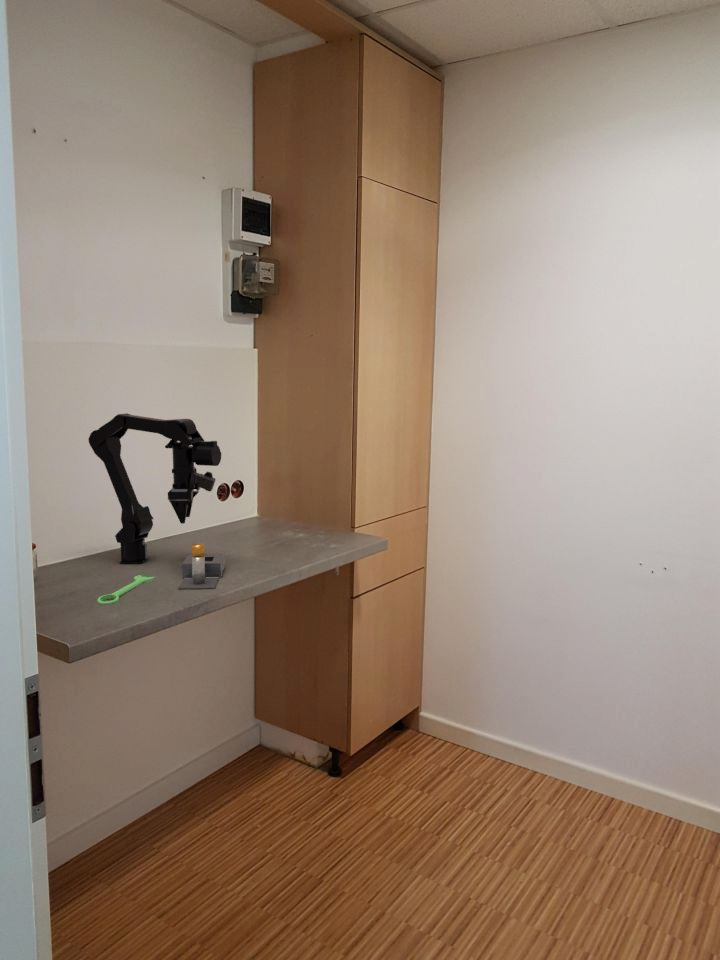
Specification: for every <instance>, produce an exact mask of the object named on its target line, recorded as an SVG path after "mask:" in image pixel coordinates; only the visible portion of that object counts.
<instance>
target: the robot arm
mask: <svg viewBox="0 0 720 960" xmlns="http://www.w3.org/2000/svg"><path fill="white" fill-rule="evenodd" d="M128 430H133V431H140V432H145V433H146V432H147V433H153V434H154V433H155V434H158V435H161V436H162V437H164V438H165V439H166V438H167V439H170V440H169V442H168V443H166V445H165V446H164V448H166V449H172V469H171V474H173V475H172V476H173V477H172V478H173V483H172V484H171V485H172V488H171V489H170V490H169V491H168V492H167V500H168V501H169V503H170V504H171V506H172V509H173V511H174V513H175V514H176V516H177V518H178V520H179V523H180V524H181V525H182V524H185V523H186V519H187V518H190V517H191V512H192V507H193V502H194V498H195V497H196V496H197V494H199V492H200V489H203V490H205V491H206V492H212V491H213V489H214V486H215V483H216V478H215V477H214V476H213V472H210V471H206V472H205V473H204V474H203V473H199V472H197V471H198V470H197V468H196V467H195V465H196V466H207V467H208V466H209V467H210V466H211V467H218V466H219V465H220V463H221V461H222V452H221V449H220V446H219V445H218V441H217V440H209V441H208V440H207V441H206V440H205V439H204V438H203V436H202V435H201V433H200V432H199V431H198V429H197V426H196V423H195V422H194V420H193V419H191V418H177V419H175V418H173V419H162V418H154V417H147V416H141V415H134V414H133V415H132V414H129V413H120V414H119V413H118V414H116V415H115V416H114V417H113V418H112V419H110V420H109V421H108V422H107V423H105V424H103V425H102V426H100V427H99V428H98V429H95V430H93V431H92V432H91V433H90V434H89V437H88V443H89V446H90V447H91V449H92V451H93V453H94V455H96V457H98V458H99V460H101V462H103V464H104V467H105V470H106V472H107V474H108V476H109V480H110V482H111V484H112V487H113V489H114V492H115V494H116V497H117V499H118V503H119V505H120V507H121V517H120V520H121V521H120V522H121V525H122V528H120V530H119V531H118V532H117V533H115V537H114V538H115V539H116V542H117V543H119V544H120V560H119V564H120V565H121V564H143V563H144V562H145V561H146V559H148V543H146V542H145V541H146V540H145V539H147V538H148V536H149V532H151V530H152V528H153V526H154V523H153V520H154V517H153V515H152V514H151V510H150V508H149V506H143V505H141V503H140V502H139V501H138V498H137V495H136V493H135V490H134V487H133V486H132V483H131V480H130V478H129V476H128V473H127V470H126V466H125V464H124V462H123V459H122V457H121V452H122V444H121V439H122V438H123V437H124V436H125V435H126V433H127V432H128Z"/></svg>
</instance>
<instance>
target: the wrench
mask: <svg viewBox="0 0 720 960" xmlns="http://www.w3.org/2000/svg"><path fill="white" fill-rule="evenodd" d="M154 579H155V580H156V577H155V576H149V577H148V575H147V574H139V575H136V576H134V577H133V582H130V583H129V584H128V585H125V586H124V587H122V588H120V589H118V590H117V591H115V592H112V593H109V594H104V595H101V596H98V598H97V600H96V602H97V604H99V605H113V604H117V603H118V602H120V597H121V596H122V595H124V594H126V593H128V592H129V591H130V592H131V591H132V590H133V589H135V588H136V587H138V586H140V585H141V584H144V583H149V582H148V581H150V582H153V581H154ZM152 580H153V581H152ZM111 599H112V600H111ZM105 600H106V601H105ZM108 600H109V601H108Z"/></svg>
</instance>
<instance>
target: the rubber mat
mask: <svg viewBox="0 0 720 960" xmlns="http://www.w3.org/2000/svg"><path fill="white" fill-rule="evenodd" d="M217 581H219V578H205V583H204V584H200V585H196V584H193V583H192V579H183V578H182V581H181V583H180V585H179V586H178V589H191V590H211V589H210V588H215V589H216V587H217V584H218V582H217ZM216 583H217V584H216ZM215 586H216V587H215Z"/></svg>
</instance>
